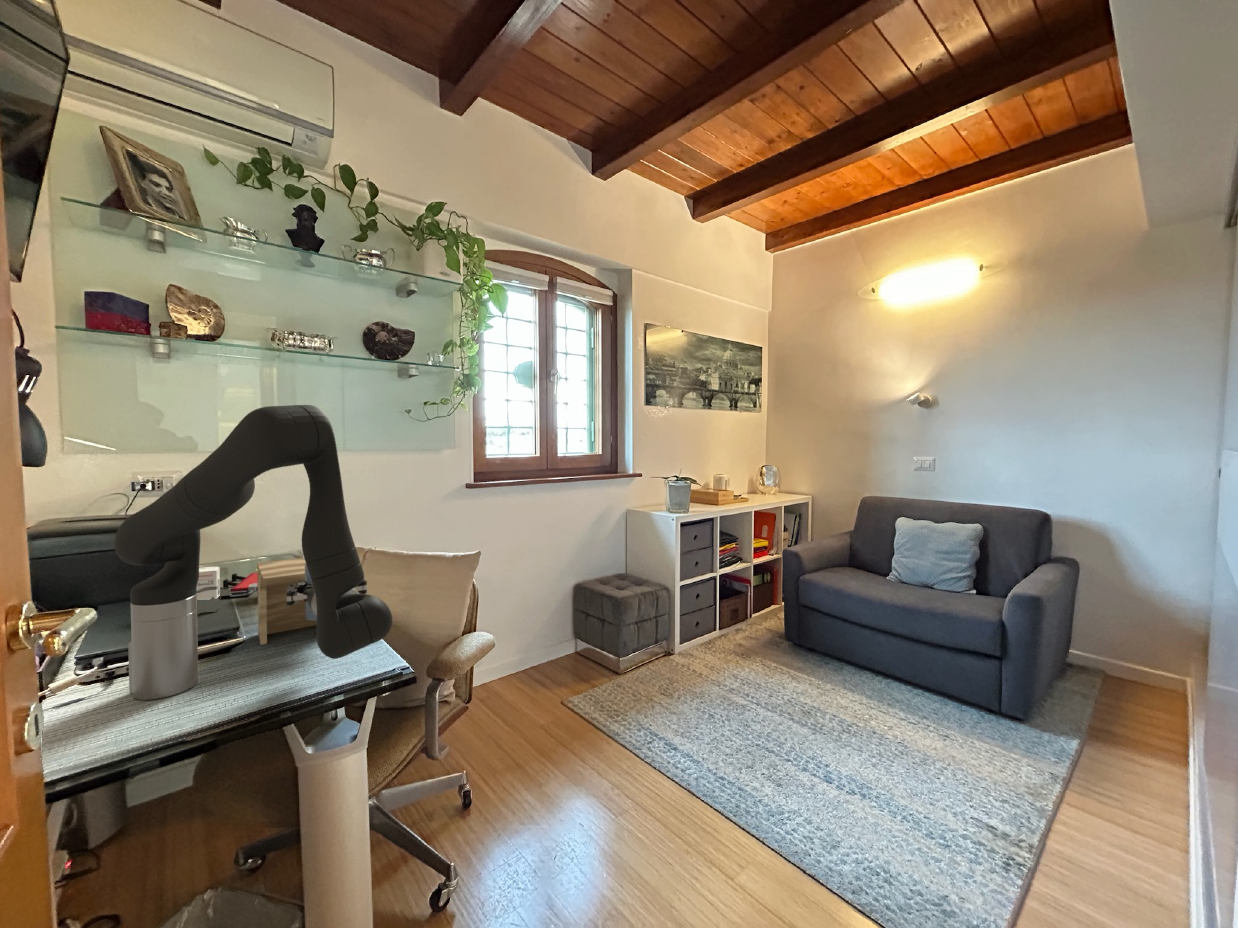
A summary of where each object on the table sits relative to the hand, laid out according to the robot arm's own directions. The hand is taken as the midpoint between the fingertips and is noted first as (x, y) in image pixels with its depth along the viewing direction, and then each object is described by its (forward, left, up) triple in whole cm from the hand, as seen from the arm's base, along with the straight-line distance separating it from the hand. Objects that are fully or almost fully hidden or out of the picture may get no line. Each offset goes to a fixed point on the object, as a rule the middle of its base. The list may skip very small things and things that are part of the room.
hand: (320, 581), depth 106 cm
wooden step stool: (-16, +12, -18) cm, 27 cm away
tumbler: (+2, -2, -6) cm, 7 cm away
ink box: (-58, +21, -18) cm, 64 cm away
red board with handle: (-68, +46, -18) cm, 84 cm away
